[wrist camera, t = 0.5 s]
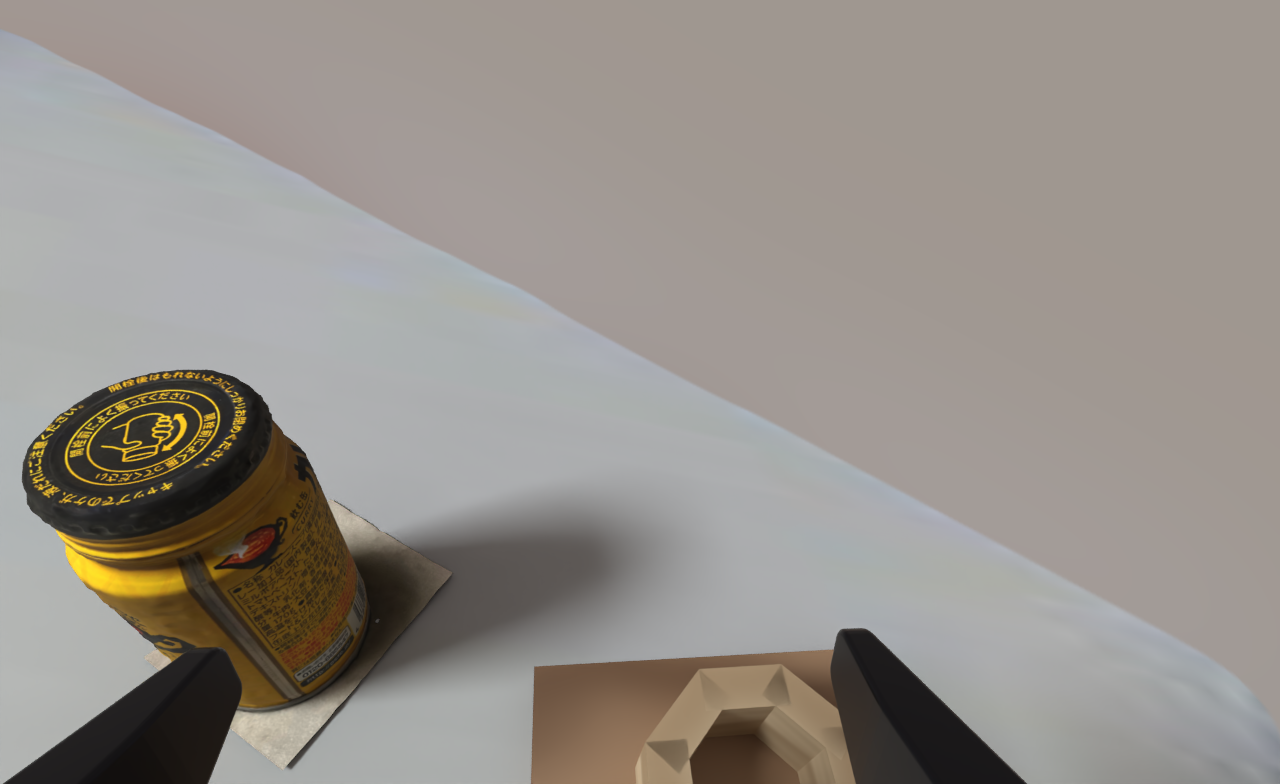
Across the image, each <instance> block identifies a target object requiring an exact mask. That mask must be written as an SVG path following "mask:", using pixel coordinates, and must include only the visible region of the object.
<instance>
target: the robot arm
mask: <svg viewBox="0 0 1280 784" xmlns="http://www.w3.org/2000/svg"><path fill="white" fill-rule="evenodd" d="M830 675H831V682H832V686H833V690H834V695H835V699H836V703H837V707H838V712H839V716H840V720H841V724H842V728H843V733H844V737H845V741H846V745H847V750H848V754H849V758H850V762H851V767H852V771H853V775H854V779H855V783H856V784H1027V783H1026V782H1025V781H1024V780H1023V779H1022V778H1021V777H1020V776H1019V775H1018V774H1017V773H1016V772H1015V771H1013V770H1012V769H1011V768H1010V767H1009V766H1008V765H1007V764H1006V763H1005V762H1004V761H1003V760H1002V759H1001V758H1000V757H999V756H998V755H997V754H996V753H995V752H994V751H993V750H992V749H991V748H990V747H989V746H988V745H987V744H986V743H985V742H984V741H983V740H982V739H981V738H980V737H979V736H978V735H977V734H975V733H974V732H973V731H972V730H971V729H970V728H969V727H968V726H967V725H966V724H965V723H964V722H963V721H962V720H961V719H960V718H959V717H958V716H957V715H956V714H955V713H954V712H953V711H952V710H951V709H950V708H949V707H948V706H947V705H946V704H945V703H944V702H943V701H942V700H941V699H940V698H938V697H937V696H936V695H935V694H934V693H933V692H932V691H931V690H930V689H929V688H928V687H927V686H926V685H925V684H924V683H923V682H922V681H921V680H920V679H919V678H918V677H917V676H916V675H915V674H914V673H913V672H912V671H911V670H910V669H909V668H908V667H907V666H906V665H905V664H904V663H903V662H901V661H900V660H899V659H898V658H897V657H896V656H895V655H894V654H893V653H892V652H891V651H890V650H889V649H888V648H887V647H886V646H885V645H884V644H883V643H882V642H881V641H880V640H879V639H878V638H877V637H876V636H875V635H874V634H873V633H872V632H870V631H869V630H867V629H863V628H854V629H841V630H840V631H839V632H838V634H837V637H836V642H835V646H834V651H833V656H832V660H831V665H830ZM241 696H242V682H241V680H240V678H239V676H238V674H237V671H236V669H235V667H234V665H233V663H232V661H231V659H230V657H229V655H228V653H227V652H226V650H225V649H223V648H221V647H200V648H193V649H190V650H188V651H186V652H185V653H183V654H182V655H180V656H179V657H178V658H176V659H175V660H173V661H172V662H171V663H169V664H168V665H167V666H165V667H164V668H162V669H161V670H160V671H158V672H157V673H155V674H154V675H153V676H151V677H150V678H149V679H147V680H146V681H144V682H143V683H142V684H140V685H139V686H138V687H136V688H135V689H133V690H132V691H131V692H129V693H128V694H126V695H125V696H124V697H122V698H121V699H120V700H118V701H117V702H115V703H114V704H113V705H111V706H110V707H108V708H107V709H106V710H104V711H103V712H102V713H100V714H99V715H97V716H96V717H95V718H93V719H92V720H90V721H89V722H88V723H86V724H85V725H84V726H82V727H81V728H79V729H78V730H77V731H75V732H74V733H72V734H71V735H70V736H68V737H67V738H66V739H64V740H63V741H61V742H60V743H59V744H57V745H56V746H55V747H53V748H52V749H50V750H49V751H48V752H46V753H45V754H43V755H42V756H41V757H39V758H38V759H37V760H35V761H34V762H32V763H31V764H30V765H28V766H27V767H25V768H24V769H23V770H21V771H20V772H19V773H17V774H16V775H14V776H13V777H12V778H10V779H9V780H7V781H6V782H5V783H3V784H208V782H209V780H210V777H211V775H212V772H213V770H214V767H215V764H216V762H217V759H218V757H219V754H220V752H221V749H222V747H223V744H224V741H225V739H226V736H227V734H228V731H229V729H230V726H231V723H232V721H233V718H234V716H235V713H236V711H237V708H238V706H239V703H240V700H241Z"/></svg>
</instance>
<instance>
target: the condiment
mask: <svg viewBox="0 0 1280 784" xmlns="http://www.w3.org/2000/svg"><path fill="white" fill-rule="evenodd" d="M22 483H23V486H24V489H25V491H26V493H27V504H28V505H29V507H30V509H31V511H32V512H33V513H35V514H36V515H38V516H39V517H40V518H41V519H42V520H43V521H44V522H45V523H47V524H50V525H51V526H52V527H53V528H55V529H56V531H57V533H58V535H59V537H60V538H61V539H62V540H63V541H64V542H65V546H66V556H67V558H68V561H69V564H70V565H71V566H72V568H73V569H74V571H75V573H76V574H77V575H78V576H79V578H80V579H81V580H82V582H83V583H84V584H85V585H86V587H87V588H89V589H91V590H93V591H94V592H96V594H97V595H98V596H99V597H100V599H101V600H102V601H103V602H104V603H106V604H108V605H109V607H111V608H113V609H114V610H115V611H116V612H117V613H118V614H119V615H120V616H121V617H122V618H123V619H125V620H126V621H127V622H128V623H129V624H130V625H131V626H132V627H134V628H135V629H136V630H137V631H139V633H140V634H141V635H142V636H143V637H144V638H145V639H147V640H149V641H150V642H152V643H153V644H154V646H155V647H156V648H157V649H156V650H154V651H153V652H151V653H150V654H148V655H146V656H145V657H144V659H145V660H147V661H148V662H149V663H150V664H152V665H153V666H154V667H155V668H157V669H158V670H159V671H160V670H161V669H162V668H164V667H165V666H167V665H168V664H169V663H171V662H172V661H173V660H175V659H176V658H178V657H179V656H180V655H182V654H183V653H185V652H186V651H188V650H190V649H193V648H200V647H221V648H223V649H225V650H226V652H227V653H228V655H229V657H230V659H231V661H232V663H233V665H234V667H235V669H236V671H237V674H238V676H239V678H240V680H241V682H242V696H241V700H240V703H239V706H238V708H237V711H236V713H235V716H234V718H233V721H232V723H231V726H230V728H231V729H232V730H233V731H234V732H236V733H237V734H238V735H239V736H241V737H242V738H243V739H244V740H245V741H246V742H248V743H249V744H251V745H252V746H253V747H254V748H255V749H257V750H258V751H259V752H260V753H262V754H263V755H264V756H265V757H266V758H268V759H269V760H270V761H271V762H273V763H274V764H275V765H276V766H278V767H279V768H280V769H281V770H283V769H284V768H285V767H286V766H287V765H288V764H289V762H290V761H291V760H292V759H293V758H294V757H295V756H296V754H297V753H298V752H299V751H300V750H301V749H302V748H303V747H304V746H305V744H306V743H307V742H308V741H309V740H310V739H311V738H312V736H313V735H314V734H315V733H316V732H317V731H318V730H319V729H320V728H321V727H322V725H323V724H324V723H325V722H326V721H327V720H328V719H329V717H330V716H331V715H332V714H333V712H334V711H335V709H336V708H337V707H338V706H339V705H340V704H341V703H342V702H343V701H344V700H345V699H346V698H347V697H348V696H349V695H350V693H351V692H352V691H353V690H354V689H355V688H356V687H357V685H358V684H359V683H360V681H361V680H362V679H363V678H364V677H365V676H366V675H367V674H368V672H369V671H370V670H371V669H372V667H373V666H374V665H375V664H376V662H377V661H378V660H379V659H380V658H381V657H382V656H383V655H384V653H385V652H386V650H387V649H388V648H389V646H390V645H391V644H392V643H393V641H394V640H395V639H396V638H397V637H398V636H399V635H400V634H401V633H402V632H403V631H404V630H405V629H406V627H407V626H408V625H409V624H410V623H411V621H412V620H413V619H414V618H415V617H416V616H417V615H418V614H419V613H420V612H421V610H422V609H423V608H424V607H425V606H426V604H427V603H428V602H429V600H430V599H431V598H432V596H433V595H434V594H435V593H436V591H437V590H438V589H439V588H440V587H441V586H442V585H443V584H444V583H445V581H446V580H447V579H448V578H449V577H450V576H451V575H452V572H450V571H449V570H447V569H445V568H444V567H442V566H440V565H438V564H436V563H434V562H432V561H431V560H429V559H427V558H426V557H424V556H422V555H420V554H419V553H417V552H416V551H414V550H412V549H411V548H409V547H407V546H405V545H403V544H402V543H400V542H398V541H397V540H395V539H394V538H392V537H391V536H389V535H387V534H386V533H384V532H380V531H379V530H378V529H377V528H376V527H374V526H373V525H371V524H370V523H368V522H366V521H365V520H363V519H362V518H360V517H358V516H356V515H355V514H353V513H351V512H350V511H349V510H347V509H346V508H344V507H342V506H341V505H339V504H338V503H336V502H334V501H333V500H329V501H328V502H327V500H326V498H325V495H324V493H323V491H322V488H321V486H320V484H319V482H318V480H317V477H316V475H315V473H314V470H313V468H312V466H311V464H310V462H309V460H308V459H307V457H306V454H305V452H304V451H302V449H301V448H300V447H299V446H298V445H297V444H296V443H294V442H293V441H292V440H291V439H290V438H288V437H287V436H285V435H284V434H283V432H282V430H281V429H280V428H279V427H278V425H277V424H276V423H275V422H274V421H273V420H272V414H271V413H270V412H269V408H268V405H267V404H266V403H265V402H264V401H263V398H262V397H261V395H259V394H258V393H256V392H255V391H254V390H253V389H252V388H251V387H250V386H249V385H247V384H245V383H243V382H241V381H240V380H238V379H237V378H235V377H233V376H230V375H226V374H222V373H218V372H216V371H212V370H175V371H166V372H165V371H163V372H158V373H150V374H148V375H144V376H139V377H135V378H131V379H128V380H124V381H122V382H119V383H117V384H114V385H111V386H108V387H106V388H104V389H102V390H99V391H97V392H94V393H93V394H92V395H90V396H89V397H87V398H85V399H84V400H82V401H80V402H78V403H77V404H75V405H74V406H73V407H71V408H70V409H69V410H67V411H66V412H64V413H62V414H60V415H59V416H58V417H57V418H56V419H55V420H54V421H53V422H52V423H51V424H50V425H49V426H48V427H47V428H46V429H45V430H44V431H43V432H42V433H41V434H40V435H39V436H38V437H37V438H36V439H35V440H34V441H33V442H32V444H31V445H30V447H29V448H28V450H27V454H26V456H25V459H24V462H23V471H22ZM376 619H380V620H379V623H376V622H375V620H376Z"/></svg>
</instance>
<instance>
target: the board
mask: <svg viewBox="0 0 1280 784" xmlns="http://www.w3.org/2000/svg"><path fill="white" fill-rule="evenodd" d="M833 651H834V650H818V651H801V652H783V653H766V654H748V655H731V656H714V657H696V658H679V659H661V660H644V661H626V662H609V663H591V664H574V665H556V666H539V667H535V668H534V703H533V738H532V773H531V784H636V773H635V767H636V764H637V762H638V759H639V757H640V754H641V752H642V749H643V747H644V744H645V742H646V740H647V739H648V738H649V736H650V735H651V734H652V732H653V731H654V730H655V728H656V727H657V726H658V724H659V723H660V721H661V720H662V719H663V717H664V716H665V715H666V713H667V712H668V711H669V709H670V708H671V707H672V705H673V704H674V702H675V701H676V700H677V698H678V697H679V696H680V694H681V693H682V692H683V690H684V689H685V688H686V686H687V685H688V683H689V682H690V681H691V679H692V678H693V677H694V675H695V674H696V673H697V671H698V670H699V669H708V668H725V667H741V666H758V665H775V664H782V665H783V666H784V667H785V668H787V669H788V670H789V671H790V672H792V673H793V674H794V675H795V676H797V677H798V678H799V679H800V680H802V681H803V682H804V683H805V684H807V685H808V686H809V687H810V688H812V689H813V690H814V691H815V692H817V693H818V694H819V695H820V696H822V697H823V698H824V699H826V700H827V701H828V702H829V703H831V704H832V705H833V706H834V707H836V708H837V709H838V707H837V703H836V699H835V695H834V690H833V686H832V682H831V675H830V665H831V660H832V656H833ZM690 767H691V775H692V782H693V784H800V781H799V776H798V772H797V771H796V770H795V769H793V768H792V767H791V766H790V765H789V764H788V763H786V762H785V761H784V760H783V759H782V758H781V757H780V756H778V755H777V754H776V753H775V752H774V751H773V750H772V749H770V748H769V747H768V746H767V745H766V744H765V743H764V742H762V741H761V740H760V739H759V738H758V737H757V736H755V735H754V734H745V735H732V736H719V737H706V738H704V739H703V741H702V742H701V744H700V745H699V747H698V748H697V750H696V751H695V753H694V754H693V756H692V757H691V759H690Z"/></svg>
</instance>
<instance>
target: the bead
mask: <svg viewBox="0 0 1280 784" xmlns="http://www.w3.org/2000/svg"><path fill="white" fill-rule="evenodd" d="M745 734H754V735H755V736H757V737H758V738H759V739H760V740H761V741H762V742H764V743H765V744H766V745H767V746H768V747H769V748H770V749H772V750H773V751H774V752H775V753H776V754H777V755H778V756H780V757H781V758H782V759H783V760H784V761H785V762H786V763H788V764H789V765H790V766H791V767H792V768H793V769H795V770H796V771H797V772H798V776H799V781H800V784H856V783H855V779H854V775H853V771H852V767H851V762H850V758H849V754H848V750H847V745H846V741H845V737H844V733H843V728H842V724H841V720H840V716H839V712H838V709H837V708H836V707H834V706H833V705H832V704H831V703H829V702H828V701H827V700H826V699H824V698H823V697H822V696H820V695H819V694H818V693H817V692H815V691H814V690H813V689H812V688H810V687H809V686H808V685H807V684H805V683H804V682H803V681H802V680H800V679H799V678H798V677H797V676H795V675H794V674H793V673H792V672H790V671H789V670H788V669H787V668H785V667H784V666H783V665H782V664H775V665H758V666H741V667H725V668H708V669H699V670H698V671H697V673H696V674H695V675H694V677H693V678H692V679H691V681H690V682H689V683H688V685H687V686H686V688H685V689H684V690H683V692H682V693H681V694H680V696H679V697H678V698H677V700H676V701H675V702H674V704H673V705H672V707H671V708H670V709H669V711H668V712H667V713H666V715H665V716H664V717H663V719H662V720H661V721H660V723H659V724H658V726H657V727H656V728H655V730H654V731H653V732H652V734H651V735H650V736H649V738H648V739H647V740H646V742H645V744H644V747H643V749H642V752H641V754H640V757H639V759H638V762H637V764H636V767H635V773H636V784H693V782H692V775H691V767H690V759H691V757H692V756H693V754H694V753H695V751H696V750H697V748H698V747H699V745H700V744H701V742H702V741H703V739H704V738H706V737H719V736H732V735H745Z"/></svg>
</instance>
